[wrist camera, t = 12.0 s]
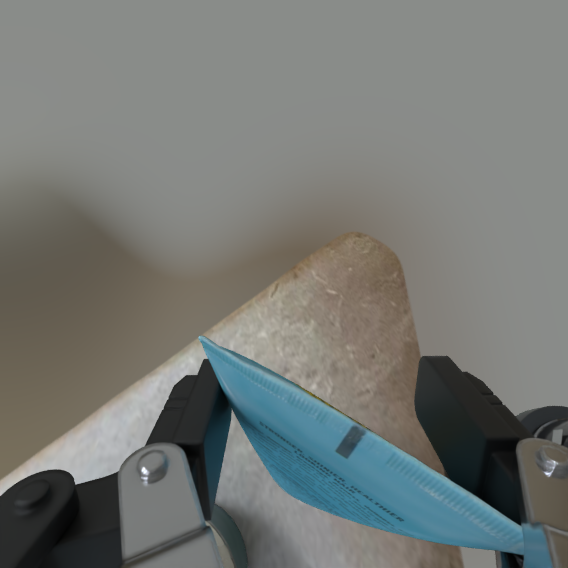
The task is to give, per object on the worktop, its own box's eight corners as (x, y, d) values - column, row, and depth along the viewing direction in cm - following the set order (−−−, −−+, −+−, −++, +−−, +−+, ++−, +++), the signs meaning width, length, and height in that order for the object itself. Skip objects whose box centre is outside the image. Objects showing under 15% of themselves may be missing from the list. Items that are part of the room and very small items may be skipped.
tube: (366, 445, 24) (566, 409, 7) (340, 521, 22) (527, 726, 5) (269, 396, 26) (240, 267, 9) (237, 463, 24) (113, 472, 7)
